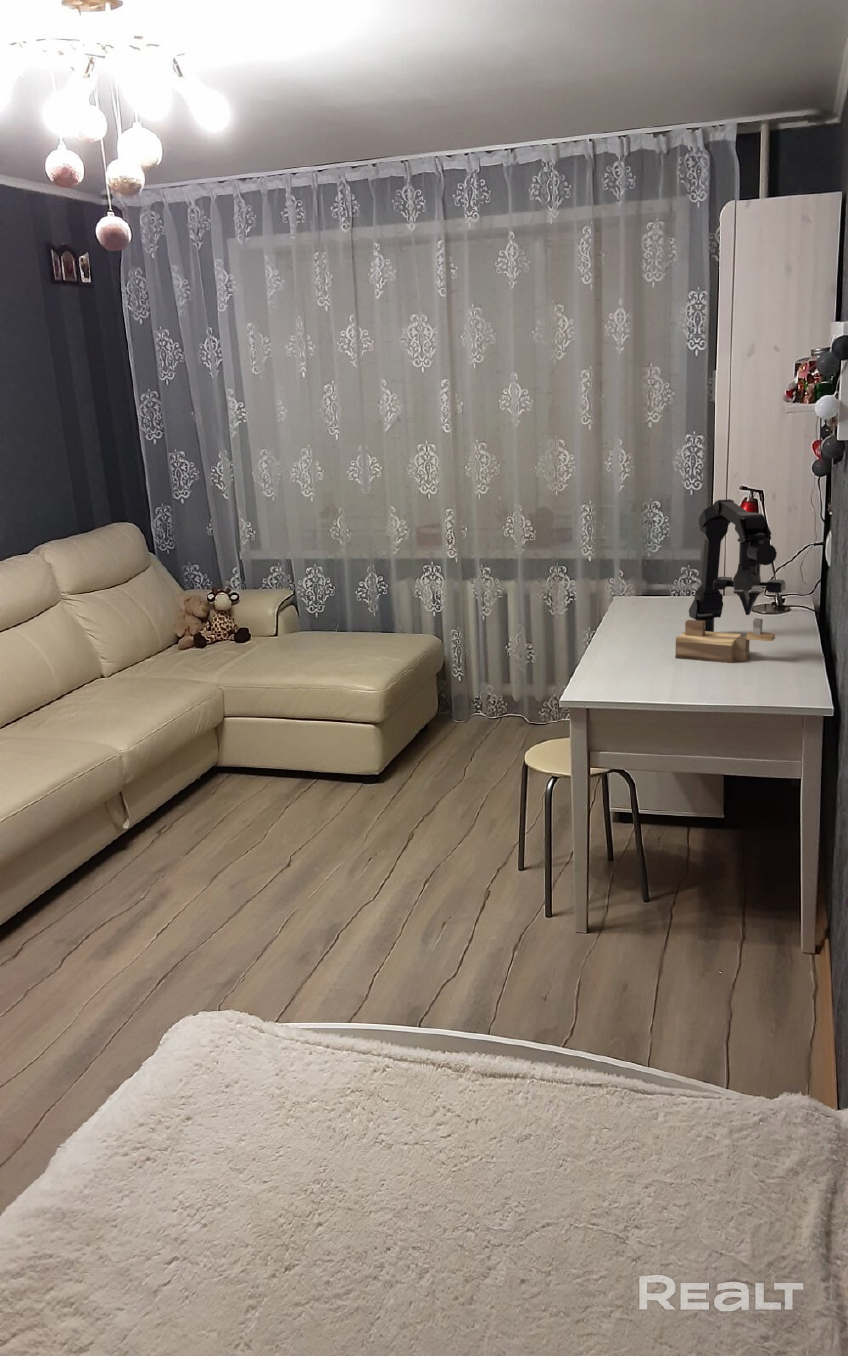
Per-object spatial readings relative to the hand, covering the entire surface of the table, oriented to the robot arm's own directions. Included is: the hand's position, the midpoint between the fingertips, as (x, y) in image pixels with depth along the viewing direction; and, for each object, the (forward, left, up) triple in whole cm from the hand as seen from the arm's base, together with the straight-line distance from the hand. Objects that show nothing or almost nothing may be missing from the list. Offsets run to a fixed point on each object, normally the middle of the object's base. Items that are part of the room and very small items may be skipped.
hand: (747, 614), depth 297 cm
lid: (0, -11, -8) cm, 13 cm away
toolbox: (0, -9, -13) cm, 16 cm away
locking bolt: (0, +4, -7) cm, 8 cm away
